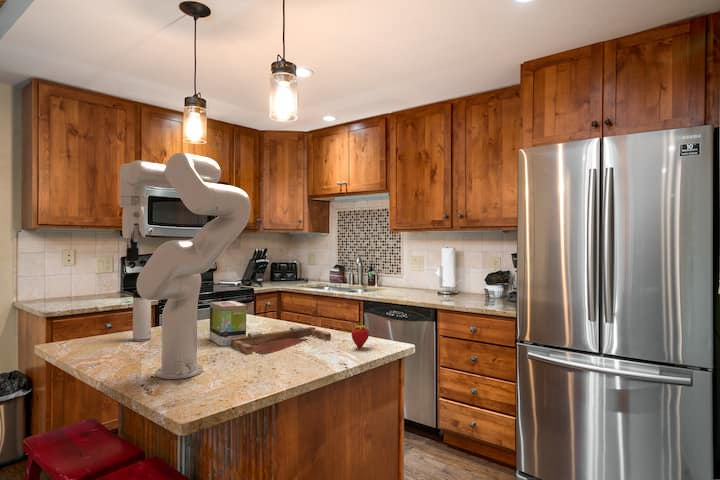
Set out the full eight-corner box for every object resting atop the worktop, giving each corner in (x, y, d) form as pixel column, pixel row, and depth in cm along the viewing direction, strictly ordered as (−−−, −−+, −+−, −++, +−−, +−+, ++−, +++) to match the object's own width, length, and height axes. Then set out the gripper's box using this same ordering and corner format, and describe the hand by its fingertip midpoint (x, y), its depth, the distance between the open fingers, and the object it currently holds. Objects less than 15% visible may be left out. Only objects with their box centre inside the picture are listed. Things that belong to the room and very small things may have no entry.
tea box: (247, 343, 165) (247, 304, 165) (220, 347, 159) (220, 306, 159) (234, 336, 177) (234, 299, 177) (208, 339, 172) (209, 301, 172)
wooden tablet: (264, 356, 149) (264, 352, 149) (243, 352, 154) (243, 348, 154) (312, 341, 172) (312, 337, 172) (293, 338, 177) (293, 334, 177)
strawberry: (372, 347, 160) (372, 320, 160) (361, 352, 154) (361, 323, 154) (359, 345, 163) (359, 318, 163) (347, 349, 157) (347, 321, 157)
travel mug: (155, 339, 171) (155, 287, 171) (138, 342, 165) (139, 289, 165) (145, 337, 174) (145, 286, 174) (129, 340, 168) (129, 288, 168)
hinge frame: (330, 340, 172) (330, 329, 172) (246, 354, 149) (247, 342, 149) (311, 334, 182) (311, 324, 182) (230, 346, 160) (230, 335, 160)
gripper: (151, 202, 137) (151, 261, 137) (139, 205, 148) (139, 259, 148) (124, 200, 132) (124, 262, 132) (114, 203, 143) (114, 260, 143)
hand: (132, 260), depth 140 cm, fingers closed
